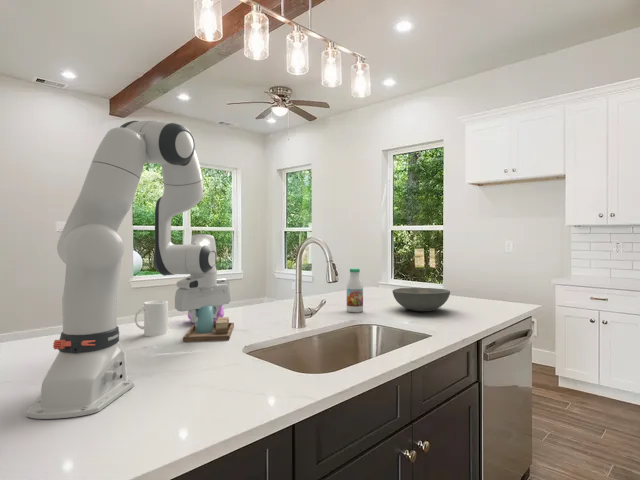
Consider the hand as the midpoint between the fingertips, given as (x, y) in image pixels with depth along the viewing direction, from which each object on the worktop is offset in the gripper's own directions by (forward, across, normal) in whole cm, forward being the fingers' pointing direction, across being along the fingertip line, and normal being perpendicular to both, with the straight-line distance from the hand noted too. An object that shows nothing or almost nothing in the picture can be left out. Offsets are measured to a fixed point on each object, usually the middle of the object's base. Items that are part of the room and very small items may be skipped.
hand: (204, 320), depth 138 cm
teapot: (+7, -14, -21) cm, 26 cm away
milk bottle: (+7, -73, +11) cm, 74 cm away
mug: (+7, +9, -19) cm, 22 cm away
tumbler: (+4, 0, 0) cm, 4 cm away
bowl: (+7, -94, +34) cm, 101 cm away
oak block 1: (+6, -12, -5) cm, 14 cm away
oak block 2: (+6, -8, -2) cm, 10 cm away
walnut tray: (+6, -4, -3) cm, 8 cm away
